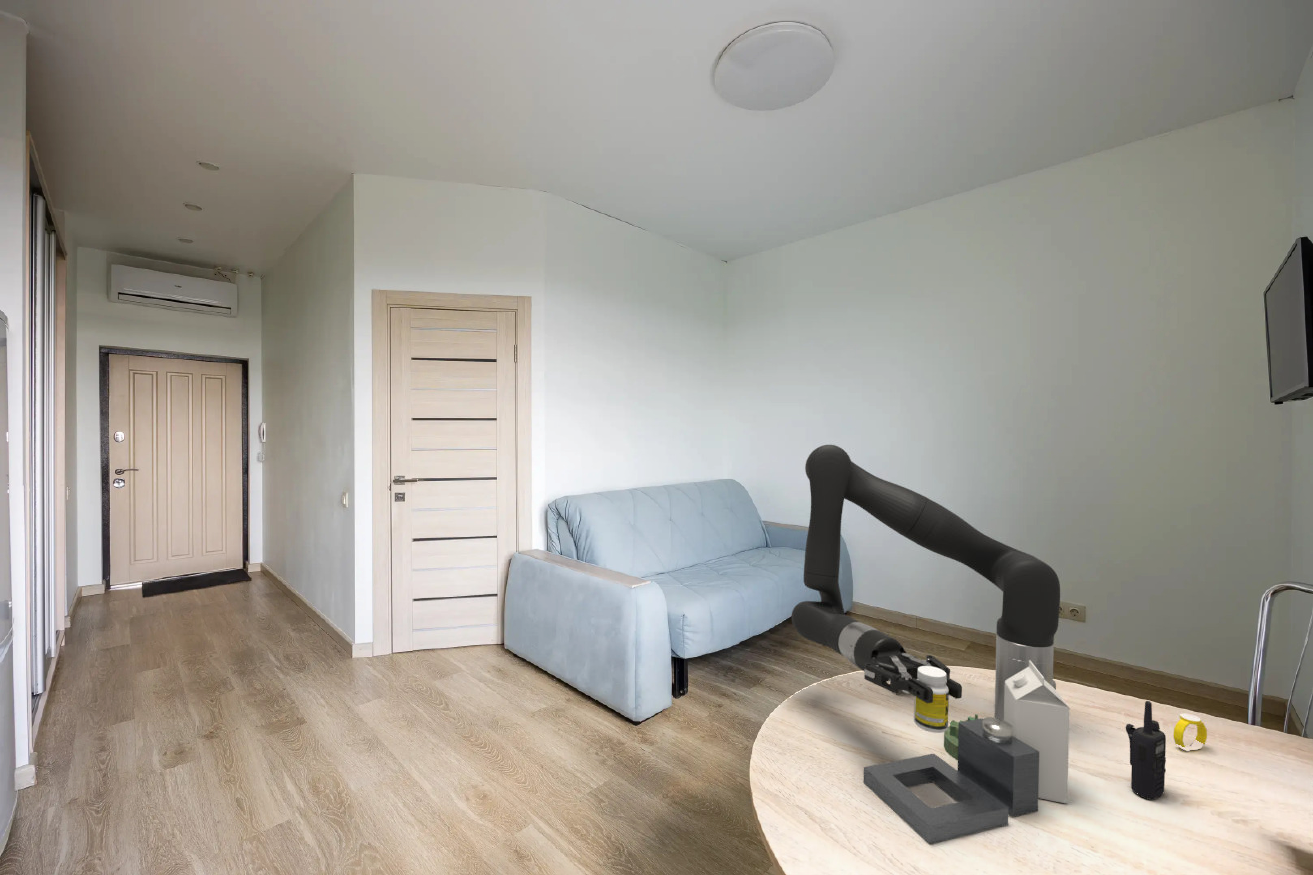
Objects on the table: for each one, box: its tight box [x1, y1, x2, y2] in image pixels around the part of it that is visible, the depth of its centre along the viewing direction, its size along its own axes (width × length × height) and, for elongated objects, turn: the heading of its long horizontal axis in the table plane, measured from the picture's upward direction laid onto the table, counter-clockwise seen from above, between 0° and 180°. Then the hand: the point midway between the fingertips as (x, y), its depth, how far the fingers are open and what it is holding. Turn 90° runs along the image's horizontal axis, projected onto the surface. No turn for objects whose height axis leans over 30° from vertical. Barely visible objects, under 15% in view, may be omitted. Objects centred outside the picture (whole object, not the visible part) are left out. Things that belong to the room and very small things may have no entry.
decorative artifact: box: [943, 713, 982, 761], centre depth 98 cm, size 10×7×10 cm
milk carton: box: [1004, 660, 1071, 805], centre depth 89 cm, size 7×7×19 cm
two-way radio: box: [1125, 700, 1167, 800], centre depth 89 cm, size 6×4×15 cm
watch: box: [1172, 712, 1208, 747], centre depth 101 cm, size 6×3×6 cm, turn 102°
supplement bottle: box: [913, 666, 950, 734], centre depth 85 cm, size 5×5×8 cm
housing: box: [863, 716, 1039, 845], centre depth 86 cm, size 21×14×11 cm, turn 107°
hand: (945, 694), depth 83 cm, fingers closed on supplement bottle, 4 cm apart
